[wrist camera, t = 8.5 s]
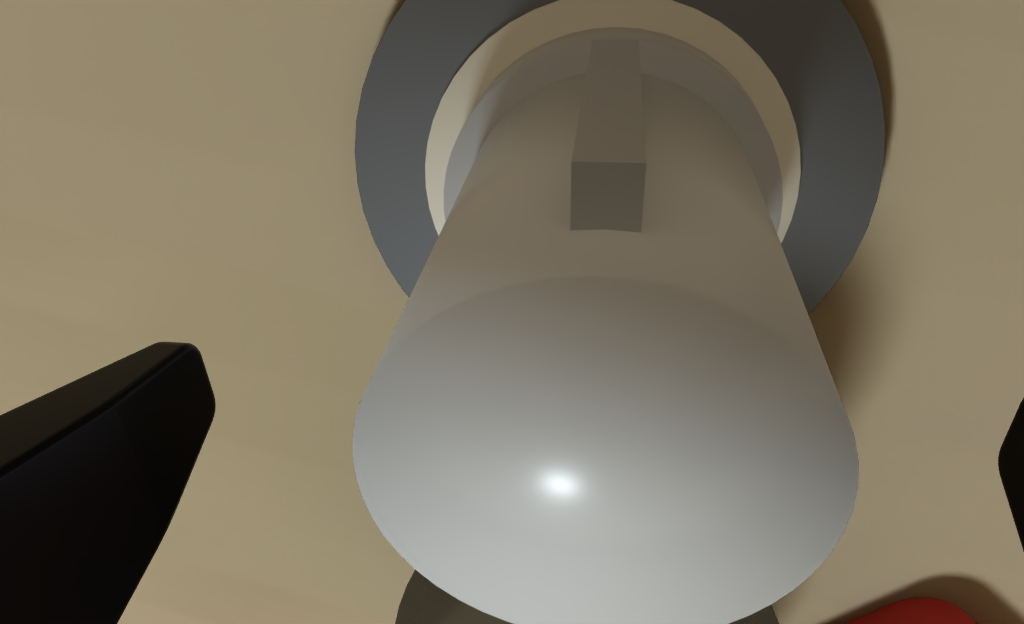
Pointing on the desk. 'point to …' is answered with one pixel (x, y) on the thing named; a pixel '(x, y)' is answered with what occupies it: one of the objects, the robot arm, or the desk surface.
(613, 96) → the white knob
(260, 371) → the desk surface
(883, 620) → the bracket
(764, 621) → the grey rounded block
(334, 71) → the desk surface
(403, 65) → the flange
